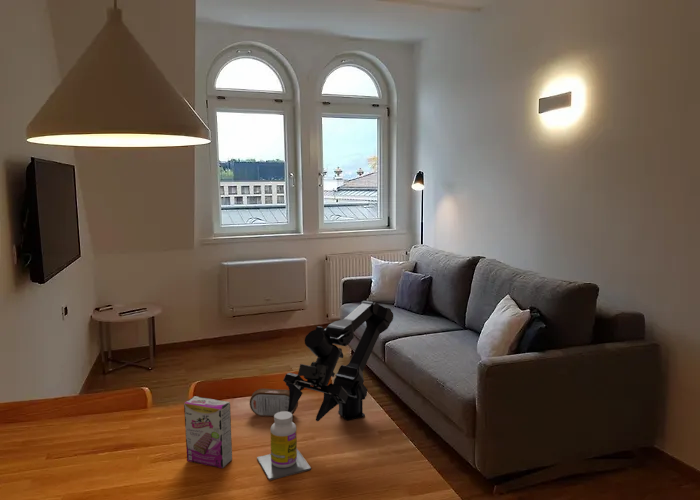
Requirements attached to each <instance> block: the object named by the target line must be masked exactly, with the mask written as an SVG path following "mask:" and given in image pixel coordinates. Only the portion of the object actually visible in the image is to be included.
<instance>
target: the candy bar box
mask: <svg viewBox="0 0 700 500" xmlns="http://www.w3.org/2000/svg"><path fill="white" fill-rule="evenodd" d="M183 407H184V409H183V410H184V411H183V412H184V427H185V428H184V429H185V443H186V444H185V445H186V462H191V463H195V464H196V463H197V464H198V465H199V464H201V465H205V466H209V467H215V468H220V469H224V468H225V467H226V466H227V465H228V464H229V463H230V462H231V461H232V460H233V445H232V444H233V443H232V442H233V441H232V418H231V417H232V415H231V414H232V413H231V402H230V401H227V400H226V401H225V400H219V399H213V398H208V397H201V396H197V395H196V396H195V395H194V396H193V397H191V398H190V399H188V400H186V401H185V402H184V403H183Z"/></svg>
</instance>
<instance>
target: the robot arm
mask: <svg viewBox="0 0 700 500" xmlns="http://www.w3.org/2000/svg"><path fill="white" fill-rule="evenodd" d="M393 319H394V313H393V311H392V309H391V308H390V307H385V306H384V305H381V304H379V303H378V302H376V301H372V300H362V301H361V302H360V304H359V305H358V306H357V307H356V308H355V309H354V310H352V311H351V312H350V313H349V314H348V315H346V316H345V317H344V318H343V319H340V320H335V321H333V322H331V323H329V324H328V325H327V326H326V328H324V327H323V326H316V327H315V329H313V330H311V331H309V333H307V334H306V335H305V337H304V344H305V346H306V348H307V349H308V350H309V351H311V352H312V354H313V355H315V357H317V358H316V360H315V361H312V362H311V363H310V365H308V364H303V363H300V364H299V367H298V373H292V372H287V373H285V375H284V377H283V382H284V383H285V385H286V386H287V387H288V390H289V407H288V412H290V413H291V412H292V411H293V409H294V408H295V406H296V404H297V402H298V403H299V400H300V398H301V397H302V395H303V390H304V389H308V390H312V391H316V392H319V393H323V399H322V400H323V401H322V402H321V405H320V407H319V408H318V412H317V413H316V416H315V421H316V422H319V421H320V420H321V419H322V418H323V417H325V416H326V415H327V414H328V413H329V412H331V410H332V409H334V408H335V407H336V406H337V405H338V411H337V412H338V414H339V415H340V416H341V417H342V418H343V419H344V420H345V421H350V420H355V419H359V418H363V416H364V417H366V414H365V413H364V412H363V407H364V406H363V402H364V401H363V400H366V398H367V396H368V388H367V387H366V386H365V385H364V382H365V379H364V370H365V367H366V365H367V363H368V361H369V358H370V357H371V354H372V352H373V350H374V347H375V346H376V343H377V340H378V339H379V336H380V335H381V334H382V333H384V332H385V331H387V330H388V328H389V327H390V325H391V323H392V322H393ZM364 323H365V325H366V326H365V328H364V330H363V333H362V335H361V338H360V339H359V342H358V344H357V345H356V347H355V350H354V352H353V353H352V356H351V359H350V360H349V362H348V364H346V365H344V364H341V365H340V366H339V369H338V371H337V373H335V372H334V371H335V368H336V366H337V363H338V362H339V359H340V358H341V359H343V358H344V353H343V349H342V348H340V347H338V346H341V347H347V346H348V345H349V344H350V343H351V341H352V340H353V339H354V335H355V332H356V331H357V330H358V329H359V328H360V327H361V326H362V325H363V324H364ZM302 377H303V378H302ZM334 377H335V378H334ZM331 378H334V379H333V383H329V382H330V380H331Z"/></svg>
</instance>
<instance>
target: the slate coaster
mask: <svg viewBox="0 0 700 500" xmlns="http://www.w3.org/2000/svg"><path fill="white" fill-rule="evenodd" d="M256 459H257V461H258V463H259V465H260V467H261V468H262V470H263V473H264V474H265V476H266V477H267V479H268V481H273V480H277V479H281V478H283V477H284V478H285V477H289V476H292V475H296V474H300V473H304V472H307V471H311V470H312V467H311V465H309V463H308V462H307V460H306V459H305V458H304V456H303V454H302V453H301V452H300V450H299V449H298V448H297V460H296V463H295V464H294V465H292V466H290V467H287V468H279V467H276V466H274V465H273V464H272V462H271V453H269V454H265V455H264V454H263V455H260V456H257V457H256Z"/></svg>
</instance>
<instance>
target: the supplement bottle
mask: <svg viewBox="0 0 700 500" xmlns="http://www.w3.org/2000/svg"><path fill="white" fill-rule="evenodd" d="M273 420H274V422H273V424H271V426H270V454H271V462H272V464H273V465H274V466H276V467H279V468H287V467H290V466H292V465H294V464H295V463H296V460H297V449H298V447H297V444H298V443H297V438H298V437H297V424H296V423H294V422H293V415H292V413H290V412H287V411H282V412H278V413H276V414H275V415H274V417H273Z"/></svg>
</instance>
